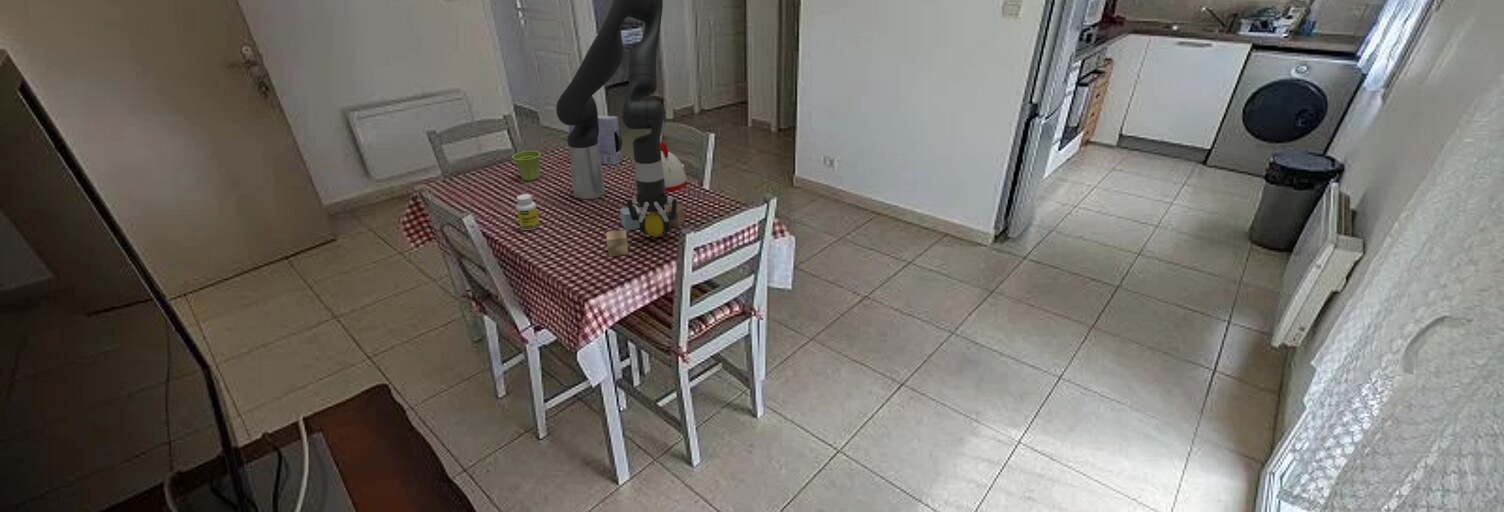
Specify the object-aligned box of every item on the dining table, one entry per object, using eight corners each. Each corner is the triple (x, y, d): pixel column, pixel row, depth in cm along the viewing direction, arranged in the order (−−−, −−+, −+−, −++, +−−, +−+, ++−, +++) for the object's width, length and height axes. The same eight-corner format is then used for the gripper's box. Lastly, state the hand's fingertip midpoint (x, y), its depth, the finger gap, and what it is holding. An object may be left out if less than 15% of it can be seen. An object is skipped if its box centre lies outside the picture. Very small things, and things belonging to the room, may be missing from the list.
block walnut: (662, 226, 174) (661, 211, 172) (668, 219, 178) (667, 204, 176) (678, 228, 173) (677, 212, 171) (684, 221, 177) (683, 205, 175)
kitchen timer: (652, 194, 196) (647, 150, 189) (641, 181, 207) (637, 139, 200) (692, 188, 201) (689, 144, 194) (679, 175, 212) (676, 133, 205)
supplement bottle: (522, 233, 172) (515, 201, 167) (519, 225, 176) (512, 195, 171) (541, 229, 174) (535, 197, 169) (538, 222, 178) (532, 191, 173)
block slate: (626, 231, 172) (624, 215, 170) (621, 224, 176) (619, 208, 174) (643, 227, 174) (641, 211, 171) (638, 221, 178) (636, 205, 175)
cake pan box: (625, 161, 226) (619, 115, 218) (620, 165, 222) (614, 118, 213) (578, 158, 229) (570, 113, 221) (572, 163, 225) (564, 116, 217)
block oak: (608, 256, 158) (606, 239, 156) (609, 248, 162) (607, 231, 160) (628, 254, 159) (625, 238, 157) (628, 246, 163) (625, 229, 161)
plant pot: (540, 183, 207) (535, 159, 203) (513, 183, 207) (507, 159, 203) (548, 173, 215) (544, 150, 211) (522, 174, 215) (517, 150, 211)
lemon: (667, 233, 170) (665, 207, 166) (663, 242, 165) (660, 215, 161) (648, 232, 170) (646, 207, 167) (643, 241, 166) (640, 215, 162)
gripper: (620, 181, 156) (627, 239, 164) (675, 180, 156) (679, 238, 164) (625, 171, 162) (632, 227, 170) (678, 170, 162) (682, 226, 170)
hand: (655, 232), depth 167 cm, fingers closed on lemon, 5 cm apart
